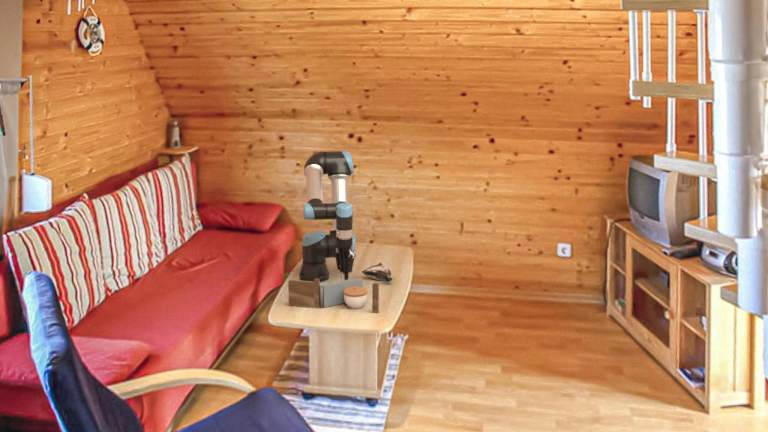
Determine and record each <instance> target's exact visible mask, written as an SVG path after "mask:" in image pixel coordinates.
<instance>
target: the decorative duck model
mask: <svg viewBox="0 0 768 432" xmlns="http://www.w3.org/2000/svg"><path fill="white" fill-rule="evenodd" d="M361 273H362V274H363V275H365V276H366V277H368V278H369V277H370V278H371V279H374V280H377V281H386V282H391V281H393V280H396V277H391V276H392V272H391V270H390V268H388V267H387V266H384V265H383V264H382V262H379V263H377V264H375V265H372V266H369V267H367V268H365V269H363V270H362V271H361Z"/></svg>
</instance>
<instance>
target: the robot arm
mask: <svg viewBox="0 0 768 432" xmlns="http://www.w3.org/2000/svg"><path fill="white" fill-rule="evenodd" d="M353 174H354V163H353V158H352V155H351V152H349V151H346V150H345V151H344V150H343V151H342V150H338V151H337V150H334V151H329V150H328V151H323V150H322V151H317V152H314V153H313V154H312V155H310V156H309V157H308V159H307V160H306V161H305V164H304V165H303V175H304V177H305V180H306V181H305V182H306V183H305V184H306V203H304V204H302V205H303V206H302V207H303V219H304V220H306V221H307V220H308V221H317V220H319V221H320V220H322V221H323V220H331V221H332V222H331V223H332V224H331V225H332V227H331V229H330V230H329V234H326V232H325V231H324V230H315V231H314V230H313V231H309V232H307V233H305V234H304V235H303V236H302V239H301V240H302V241H301V246H302V249H301V250H302V251H301V252H302V263H301V264H302V265H301V267H300V270H299V273H298V275H299V276H298V277H299V280H301V281H314V279H315V278H317V279H320V283H322V282H325V281H328V279H330V271H329V268H328V265H327V263H326V262H327V258H328V259H329V258H331V259H333V258H334V259H335V263H336V268H337V270H338V271H339V272H340V279H341V281H340V282H343V281H348V280H349V274H350V273H352V272H353V267H354V263H355V262H354V261H355V258H356V257H357V256H356V253H355V249H356V241H357V238H356V237H357V235H356V233H353V231H354V230H353V229H354V228H353V216H354V215H353V213H354V211H353V210H354V209H353V205H352V204H351V203H350V201H349V200H350V199H349V198H350V197H349V180H350V179H351V178H352V177H351V175H353ZM323 175H327V178H328V180H330V185H331V188H330V189H331V202H329V203H328V202H326V203H324V196H323V195H324V194H323V183H322V182H323V180H322V177H323Z"/></svg>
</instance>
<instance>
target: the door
mask: <svg viewBox="0 0 768 432" xmlns="http://www.w3.org/2000/svg"><path fill="white" fill-rule="evenodd" d="M363 280H364V278H362V277H359V278H355V279H348V281H343V282H341V281H339V282H334V283H329V284H324V285H320V308H321V309H323V308H327V307H333V306H337V305H342V304H346V303H345V300H344V293H343V291H344V289H345V288H347V287H352V286H359V287H363V288H364V283H363V282H364V281H363ZM320 308H319V309H320Z"/></svg>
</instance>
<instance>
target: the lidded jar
mask: <svg viewBox="0 0 768 432" xmlns="http://www.w3.org/2000/svg"><path fill="white" fill-rule="evenodd" d="M343 293H344V300H345V303H344V304H346V306H347V307H348V308H350V309H353V310H357V309H358V310H359V309H361V308H363V306H364V305H365V304H366V302H367V298H368V289H367V288H365V287H364V286H363V287H359V286H352V287H347V288H345V289H344V291H343Z"/></svg>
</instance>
